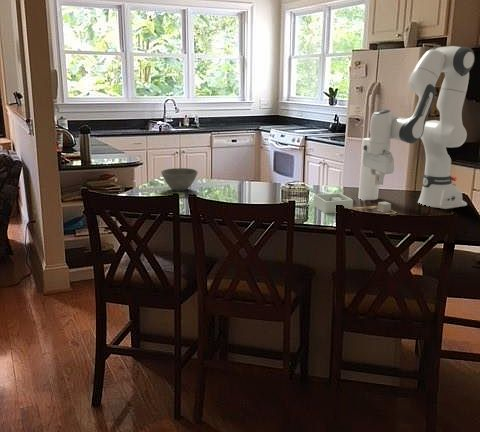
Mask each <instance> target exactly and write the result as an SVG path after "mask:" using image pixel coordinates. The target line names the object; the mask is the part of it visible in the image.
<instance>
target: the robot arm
mask: <svg viewBox="0 0 480 432" xmlns="http://www.w3.org/2000/svg"><path fill="white" fill-rule="evenodd" d="M475 59H476V55H475V53H474V50H473V49H472V48H470V47H467V46H456V45H450V46H449V45H448V46H436V47H432V48H430V49H429V50H426V51H425V53H424V54H423V55H422V56H421V57H420V59H419V60H418V62H417V63H416V65H415V66H414V68H413V69H412V72H411V73H410V75H409V78H408V85H409V88H410V90H411V91H412V92H413V93H414V94H415V95H417V97H418V101H417V103H416V106H415V109H414V111H413V114H412V116H410V117H402V116H399V115H395V114H394V113H392V112H391V110H390V109H379V110H376V111H373V112H372V114H371V117H370V122H369V135H370V136H369V138H370V139H369V144H367V145H364V146H363V150H364V153H363V164H364V166H366V167H369V168H370V171H371V174H376V171H379V174H380V176H379V177H378V181H379V182H383V183H384V179H383V178H384V177H385V176H386V175H391V174H393V173H394V172H395V159H394V156H393V154H392V152H391V140H395V141H401V142H403V143H407V144H410V145H411V144H416V143H417V142H418V141H419V140H421V141H422V144H423V147H424V152H425V164H424V165H425V166H424V173H423V176H422V177H423V178H422V187H421V192H420V195H419V198H418V201H417V204H419V203H420V204H419V205H421V204H422V205H421V206H424V205H426V207H429V206H430V207H429V208H438V209H439V208H440V209H444V210H447V209H454V208H459V207H466V206H468V203H467V202H466V201H465V200H463V193H462V190H461V189H459V188H458V187H456V185H454V183H452V182H456V181H457V179H458V177H456V176H451V175H450V174H451V165H452V159H451V157H450V155H449V154H448V151H447V148H459V147H461V146H462V145H463V144H465V142H466V140H467V136H468V133H467V130H466V127H465V126H464V125H463V119H462V118H463V116H462V115H463V113H462V112H463V108H464V107H463V106H464V103H465V99H466V95H467V91H468V85H469V80H470V71H471V69H473V67H474V63H475ZM442 73H444V78H443V81H442V84H441V86H440V90H439V95H438V98H437V102H436V108H437V110H438V112H439V120H436V119H433V120H432V119H431V120H427V119H428V116H429V114H430V112H431V109H432V107H433V104H434V102H435V98H436V93H437V90H436V89H437V88H436V85H437V81H438V80H439V77H440V76H441V74H442Z"/></svg>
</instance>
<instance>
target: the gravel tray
mask: <svg viewBox="0 0 480 432" xmlns="http://www.w3.org/2000/svg"><path fill="white" fill-rule="evenodd" d="M373 208H378V205H375V206H374V205H371V206H361V207H360V206H358V207H357V206H356V207H353V210H357V209H359V210H362V209H373ZM390 212H392V213H386V214H395V213H397V214H398V212H397V211H394V210H393V209H391V211H390Z"/></svg>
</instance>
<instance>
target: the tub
mask: <svg viewBox="0 0 480 432" xmlns="http://www.w3.org/2000/svg"><path fill="white" fill-rule="evenodd" d="M333 197H340V198H341V199H342V200H339V201H331V198H333ZM312 204H313V205H312V206H313V207H315V208H316V209H318V210H319V211H321V212H323V213H324V214H333V213H335V207H336V205H337V204H339V205H343V206H344V207H345V208H348V209H353V208H354V199H352V198H351V197H349V196H346V195H344V194H342V193H341V192H337V193H336V192H335V193H334V192H333V193H318V194H313V203H312ZM335 214H336V213H335Z"/></svg>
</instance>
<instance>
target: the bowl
mask: <svg viewBox="0 0 480 432" xmlns="http://www.w3.org/2000/svg"><path fill="white" fill-rule="evenodd" d="M160 173H161V175H162V177H163V180H164V182H165V183H166V184H167V186H168V187H169V188H170V189H171V190H173V191H177V192H182V191H186V190H187V189H189V188H190V187H191V186H192V185H193V183H194V181H195V180H196V178H197V176H198V173H199V172H198V170H196V169H194V168H186V167H184V168H183V167H181V168H177V167H176V168H174V167H173V168H167V169H163V170H161V172H160Z"/></svg>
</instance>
